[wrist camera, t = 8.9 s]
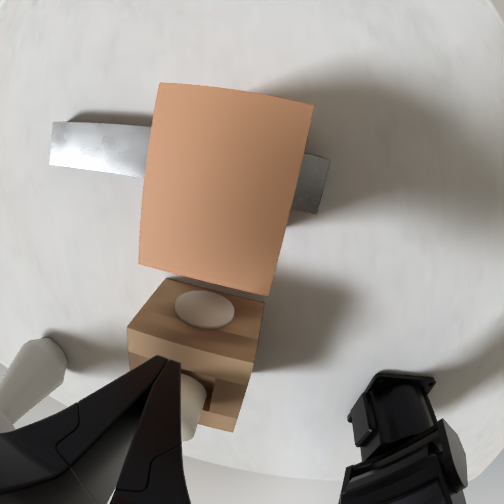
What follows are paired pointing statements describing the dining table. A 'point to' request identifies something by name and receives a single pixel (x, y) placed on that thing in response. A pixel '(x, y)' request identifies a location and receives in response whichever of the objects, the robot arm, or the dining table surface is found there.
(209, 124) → the block
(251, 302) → the cabinet
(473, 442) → the dining table surface
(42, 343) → the salt shaker
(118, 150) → the rail
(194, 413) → the plunger
